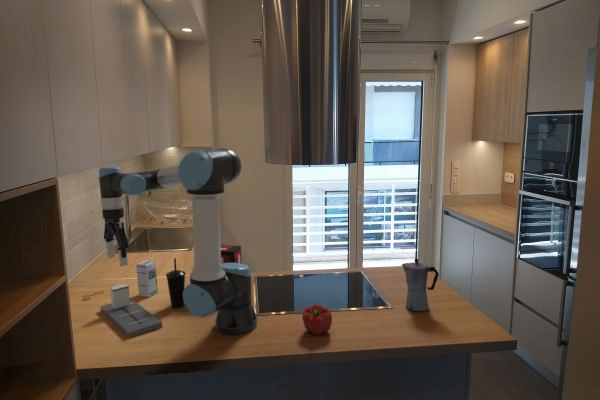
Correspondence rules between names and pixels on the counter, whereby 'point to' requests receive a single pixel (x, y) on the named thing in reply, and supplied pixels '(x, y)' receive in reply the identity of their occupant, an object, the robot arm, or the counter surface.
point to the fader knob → (120, 296)
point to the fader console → (131, 319)
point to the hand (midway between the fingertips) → (117, 261)
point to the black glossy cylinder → (176, 286)
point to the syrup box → (147, 278)
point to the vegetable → (317, 319)
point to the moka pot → (418, 285)
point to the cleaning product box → (230, 254)
